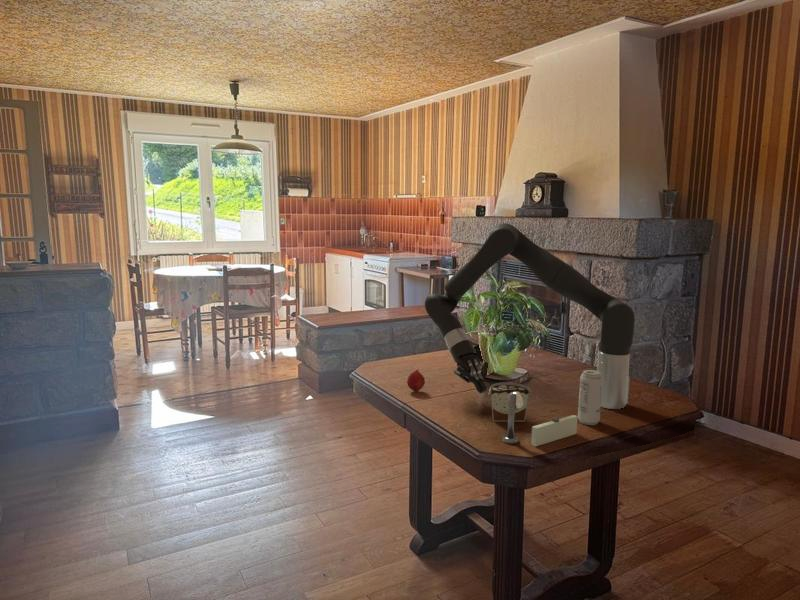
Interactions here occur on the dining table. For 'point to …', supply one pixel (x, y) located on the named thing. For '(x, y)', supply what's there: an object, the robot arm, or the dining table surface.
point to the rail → (554, 430)
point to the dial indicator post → (514, 403)
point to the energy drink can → (590, 397)
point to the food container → (501, 401)
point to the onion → (415, 381)
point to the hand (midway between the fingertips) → (483, 391)
